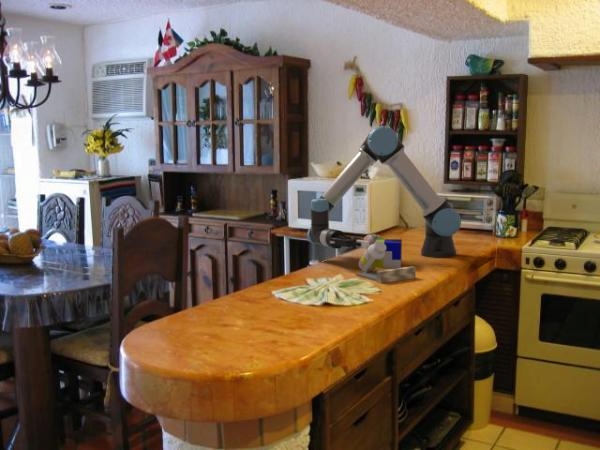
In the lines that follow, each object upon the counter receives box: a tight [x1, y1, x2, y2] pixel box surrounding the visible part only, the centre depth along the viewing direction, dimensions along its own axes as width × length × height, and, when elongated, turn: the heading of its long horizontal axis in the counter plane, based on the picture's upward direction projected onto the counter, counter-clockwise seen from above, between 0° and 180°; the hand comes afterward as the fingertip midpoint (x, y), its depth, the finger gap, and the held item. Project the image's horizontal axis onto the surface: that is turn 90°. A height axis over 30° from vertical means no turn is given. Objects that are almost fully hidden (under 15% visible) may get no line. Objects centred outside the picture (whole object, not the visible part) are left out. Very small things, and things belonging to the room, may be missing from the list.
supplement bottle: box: [358, 241, 386, 273], centre depth 231 cm, size 7×7×13 cm
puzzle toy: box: [376, 238, 403, 269], centre depth 248 cm, size 10×10×10 cm
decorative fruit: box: [363, 233, 383, 246], centre depth 276 cm, size 9×8×10 cm
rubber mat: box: [355, 269, 382, 282], centre depth 227 cm, size 14×14×1 cm
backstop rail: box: [376, 265, 416, 284], centre depth 220 cm, size 16×2×4 cm, turn 121°
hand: (367, 245), depth 232 cm, fingers closed
